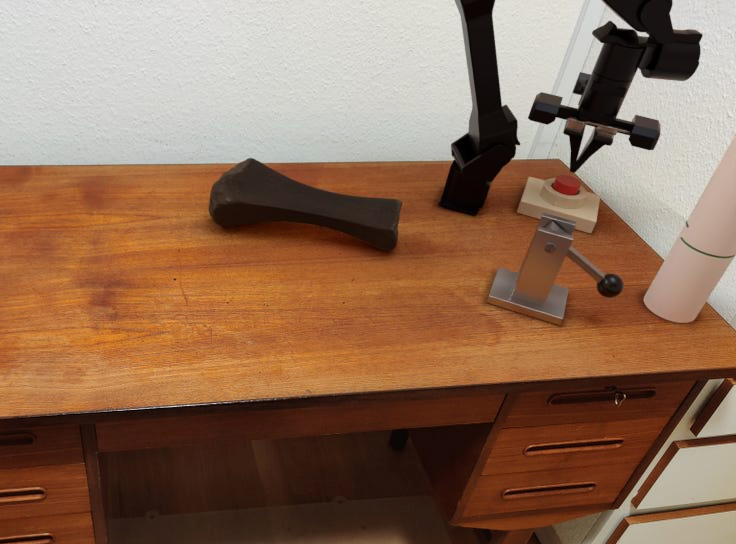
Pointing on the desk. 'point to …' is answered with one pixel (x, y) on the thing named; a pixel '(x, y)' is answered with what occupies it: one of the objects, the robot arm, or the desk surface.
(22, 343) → the desk surface
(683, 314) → the cylindrical container
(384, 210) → the dark brown bone
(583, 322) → the desk surface
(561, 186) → the button
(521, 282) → the bracket
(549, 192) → the button box
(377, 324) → the desk surface
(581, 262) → the lever
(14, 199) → the desk surface
